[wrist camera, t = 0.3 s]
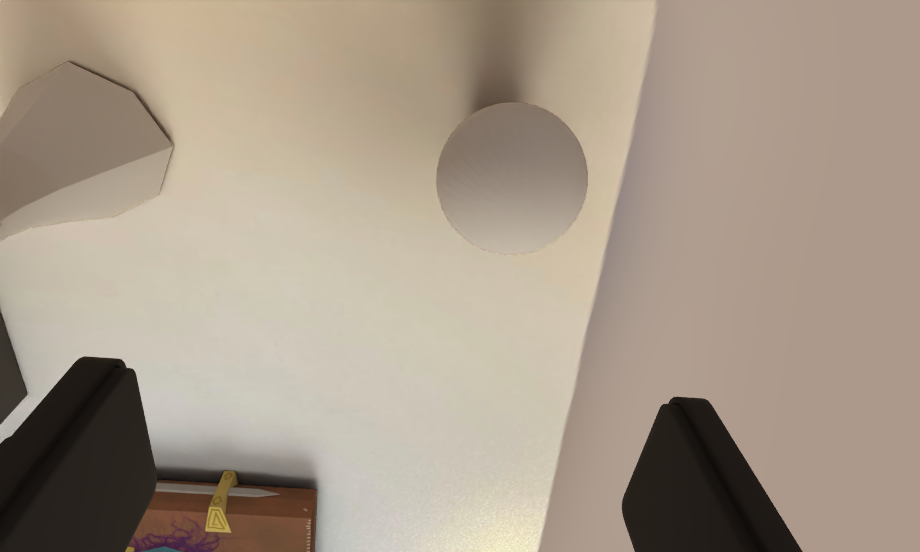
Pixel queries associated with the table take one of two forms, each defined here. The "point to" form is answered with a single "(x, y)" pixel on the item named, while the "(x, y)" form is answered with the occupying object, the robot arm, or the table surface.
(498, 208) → the light bulb
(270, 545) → the book
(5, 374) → the scale
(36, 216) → the flask
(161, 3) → the table surface
